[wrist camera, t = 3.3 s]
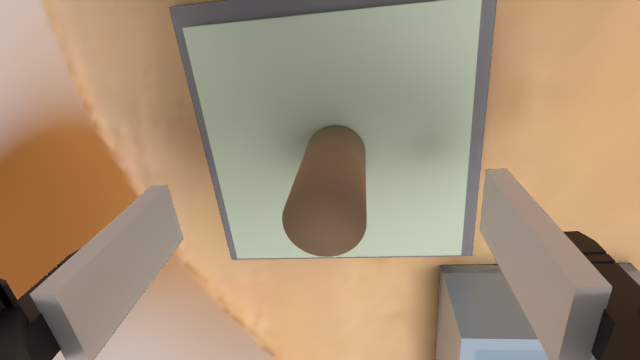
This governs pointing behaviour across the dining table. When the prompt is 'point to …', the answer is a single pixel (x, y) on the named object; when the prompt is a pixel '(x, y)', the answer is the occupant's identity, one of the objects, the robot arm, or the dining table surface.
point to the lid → (342, 128)
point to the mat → (270, 3)
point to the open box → (486, 316)
